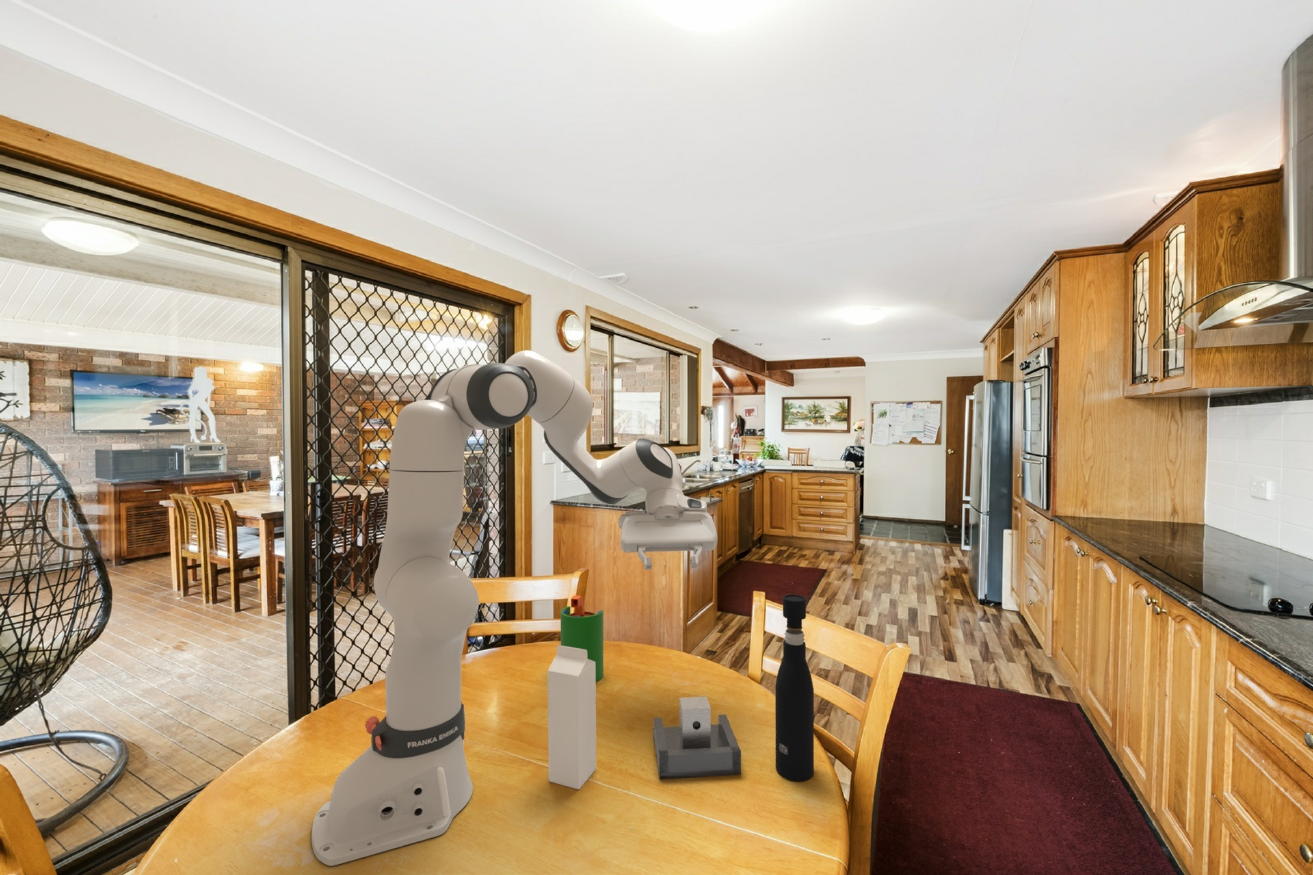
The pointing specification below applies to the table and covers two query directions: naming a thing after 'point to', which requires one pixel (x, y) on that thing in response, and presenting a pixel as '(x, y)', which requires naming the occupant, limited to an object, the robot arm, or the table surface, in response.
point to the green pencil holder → (583, 632)
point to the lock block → (695, 723)
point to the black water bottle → (794, 699)
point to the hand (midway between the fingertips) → (671, 567)
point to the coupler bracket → (696, 752)
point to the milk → (571, 717)
